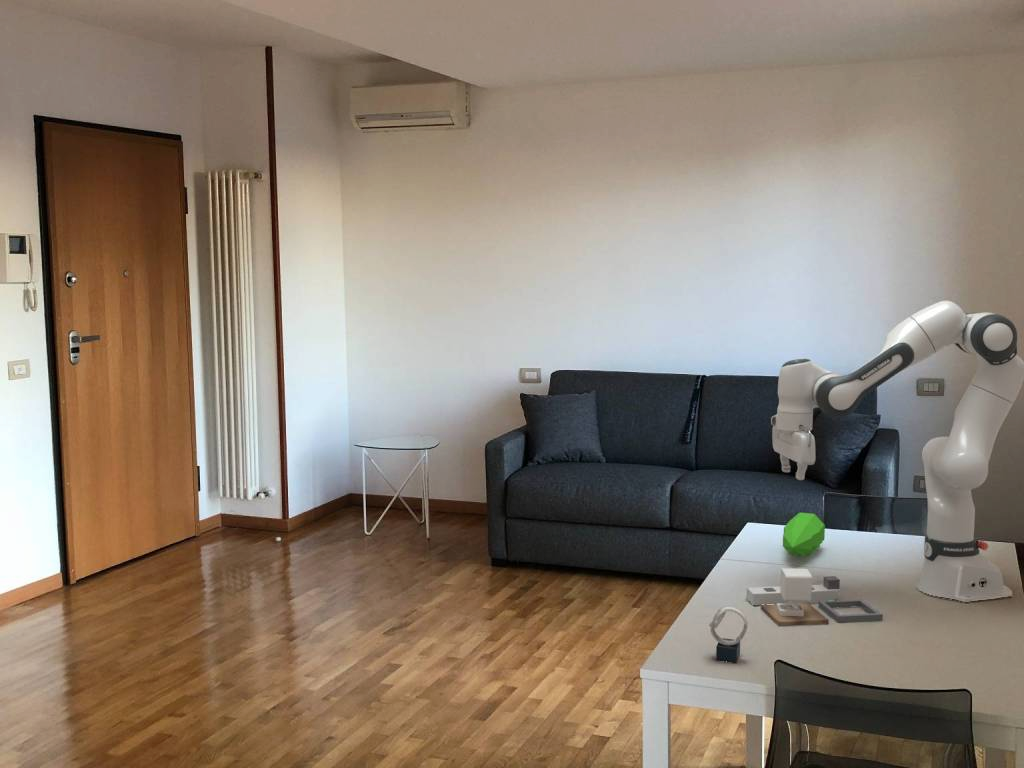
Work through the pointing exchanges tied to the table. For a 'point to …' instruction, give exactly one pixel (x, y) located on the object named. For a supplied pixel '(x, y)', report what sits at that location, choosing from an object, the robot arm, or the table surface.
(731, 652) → the watch
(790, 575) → the security camera
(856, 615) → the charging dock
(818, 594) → the power strip
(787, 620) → the walnut pad
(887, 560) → the table surface
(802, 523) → the green faceted elongated piece
